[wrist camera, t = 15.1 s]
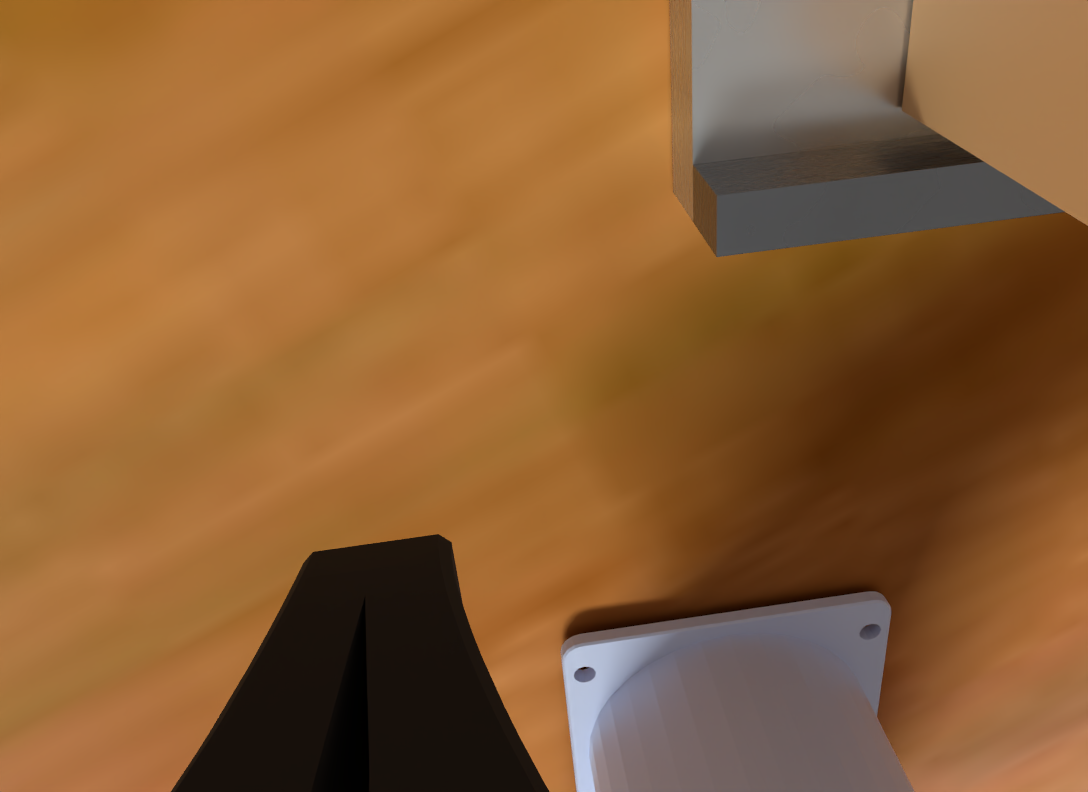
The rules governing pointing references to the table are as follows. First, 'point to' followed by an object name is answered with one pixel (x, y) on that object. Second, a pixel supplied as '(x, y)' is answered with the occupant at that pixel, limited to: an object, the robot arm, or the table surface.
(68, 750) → the table surface
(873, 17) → the frame
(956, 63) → the tan cardboard box
